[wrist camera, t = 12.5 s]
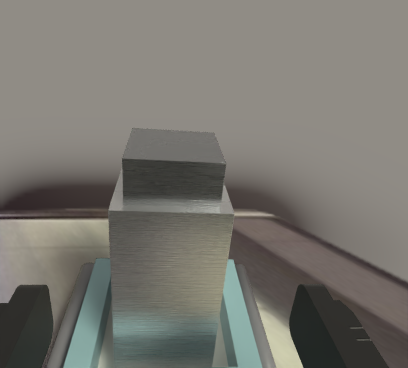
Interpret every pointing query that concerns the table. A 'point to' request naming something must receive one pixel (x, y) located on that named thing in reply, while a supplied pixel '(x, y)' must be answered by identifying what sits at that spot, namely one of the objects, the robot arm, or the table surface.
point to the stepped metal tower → (168, 249)
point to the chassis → (103, 323)
